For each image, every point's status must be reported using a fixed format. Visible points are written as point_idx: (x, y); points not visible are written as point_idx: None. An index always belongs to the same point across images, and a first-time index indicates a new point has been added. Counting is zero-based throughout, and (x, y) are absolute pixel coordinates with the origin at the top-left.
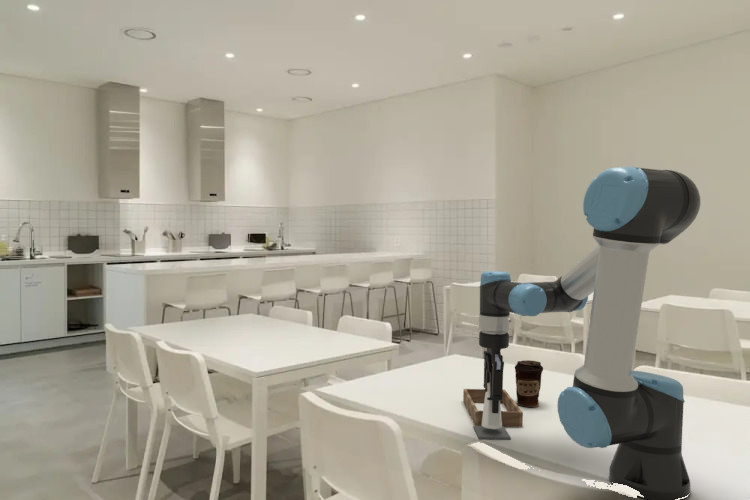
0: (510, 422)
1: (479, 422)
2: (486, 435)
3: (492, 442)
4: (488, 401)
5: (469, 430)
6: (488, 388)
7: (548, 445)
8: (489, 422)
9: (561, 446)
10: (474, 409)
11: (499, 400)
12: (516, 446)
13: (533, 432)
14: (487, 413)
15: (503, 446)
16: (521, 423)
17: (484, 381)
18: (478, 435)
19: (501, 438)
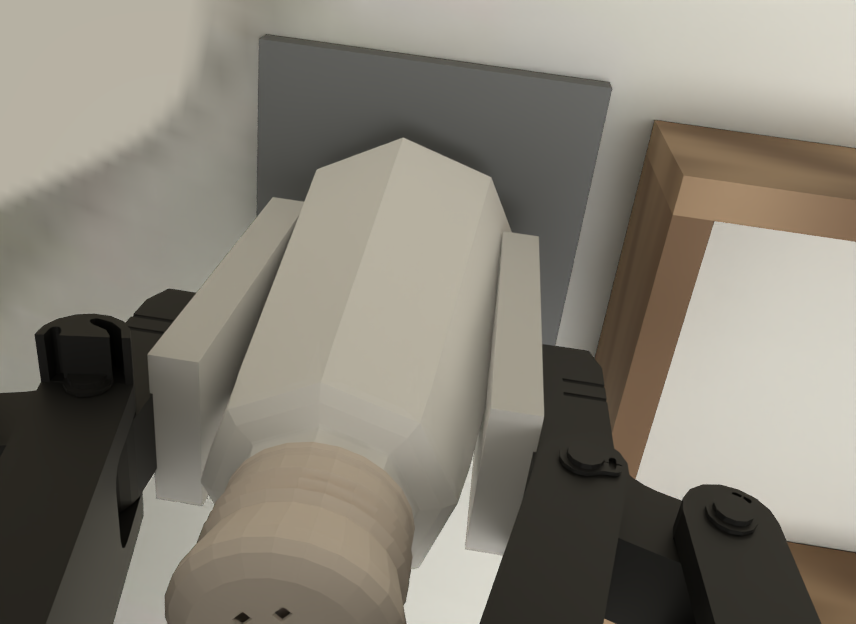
0: None
1: (650, 180)
2: (299, 136)
3: (190, 148)
4: (253, 339)
5: (540, 9)
6: (259, 491)
7: (164, 535)
8: (264, 214)
9: (154, 596)
10: (781, 189)
11: (161, 484)
12: None
13: (429, 550)
14: (291, 244)
15: (102, 214)
16: None
17: (725, 587)
18: (297, 47)
19: None
